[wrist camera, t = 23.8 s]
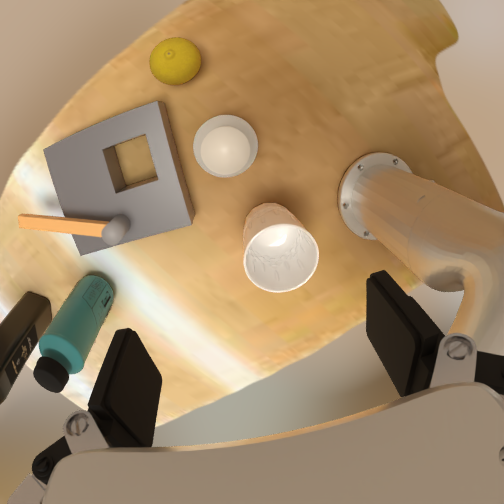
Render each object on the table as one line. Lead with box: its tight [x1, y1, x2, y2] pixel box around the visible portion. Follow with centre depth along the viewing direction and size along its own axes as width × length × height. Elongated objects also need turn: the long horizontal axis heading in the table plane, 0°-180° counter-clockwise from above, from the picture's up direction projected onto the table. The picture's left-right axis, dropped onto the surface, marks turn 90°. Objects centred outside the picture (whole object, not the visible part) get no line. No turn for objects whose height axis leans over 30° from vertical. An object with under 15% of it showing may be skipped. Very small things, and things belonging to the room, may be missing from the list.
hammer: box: [18, 214, 130, 245], centre depth 31 cm, size 16×2×4 cm, turn 81°
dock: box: [43, 101, 195, 256], centre depth 33 cm, size 16×15×4 cm
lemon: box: [149, 38, 201, 85], centre depth 26 cm, size 6×6×8 cm
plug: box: [193, 115, 258, 177], centre depth 30 cm, size 7×7×10 cm
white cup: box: [243, 203, 319, 292], centre depth 35 cm, size 8×8×10 cm
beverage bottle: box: [33, 275, 114, 393], centre depth 32 cm, size 6×7×20 cm
